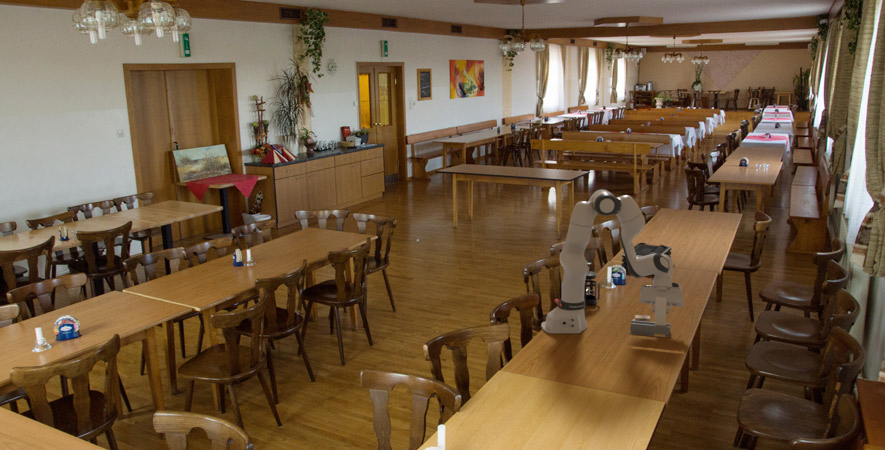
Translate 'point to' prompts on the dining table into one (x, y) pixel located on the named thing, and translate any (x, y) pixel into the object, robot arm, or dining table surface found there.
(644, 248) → the container
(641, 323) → the rack
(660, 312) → the plank
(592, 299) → the french press
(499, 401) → the dining table surface
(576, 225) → the robot arm
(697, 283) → the dining table surface
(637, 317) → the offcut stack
